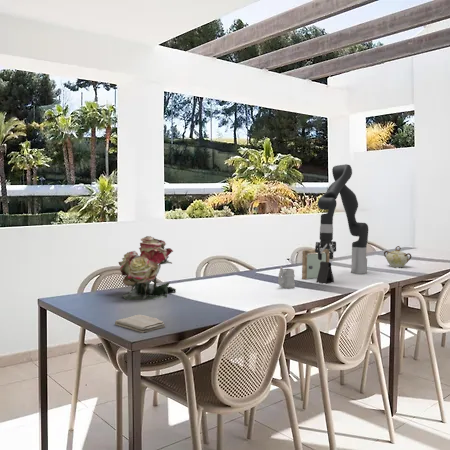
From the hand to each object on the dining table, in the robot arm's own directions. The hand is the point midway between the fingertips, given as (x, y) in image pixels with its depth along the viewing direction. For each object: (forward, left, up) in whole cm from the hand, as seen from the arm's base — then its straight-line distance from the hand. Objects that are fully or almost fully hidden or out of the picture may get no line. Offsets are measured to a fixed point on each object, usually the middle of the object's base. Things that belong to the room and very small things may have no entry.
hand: (325, 259), depth 291 cm
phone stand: (0, 0, -14) cm, 14 cm away
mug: (+31, +2, -14) cm, 34 cm away
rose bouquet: (+106, -15, -14) cm, 108 cm away
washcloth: (+130, +37, -14) cm, 136 cm away
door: (-5, -13, -13) cm, 19 cm away
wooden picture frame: (-5, -14, -13) cm, 20 cm away
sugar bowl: (-89, -22, -14) cm, 93 cm away
